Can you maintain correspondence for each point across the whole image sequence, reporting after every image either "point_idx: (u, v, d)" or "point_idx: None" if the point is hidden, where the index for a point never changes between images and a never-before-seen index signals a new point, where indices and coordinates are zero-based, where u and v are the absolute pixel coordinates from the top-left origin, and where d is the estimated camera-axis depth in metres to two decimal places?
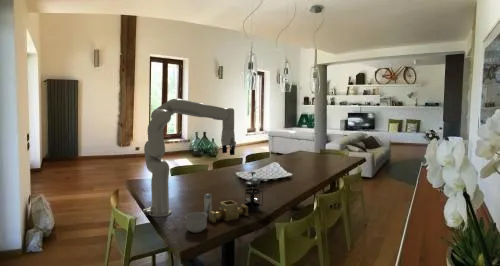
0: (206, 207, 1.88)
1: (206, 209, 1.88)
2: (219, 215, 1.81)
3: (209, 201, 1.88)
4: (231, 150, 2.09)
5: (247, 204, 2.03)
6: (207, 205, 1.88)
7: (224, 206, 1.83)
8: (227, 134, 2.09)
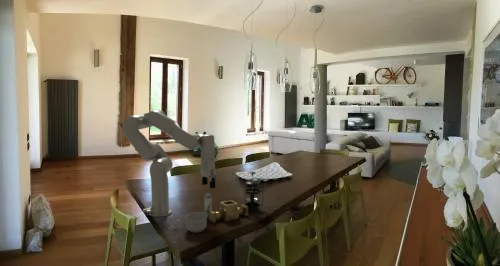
0: (206, 207, 1.88)
1: (206, 209, 1.88)
2: (219, 215, 1.81)
3: (209, 201, 1.88)
4: (211, 183, 1.84)
5: (247, 204, 2.03)
6: (207, 205, 1.88)
7: (224, 206, 1.83)
8: (206, 165, 1.84)
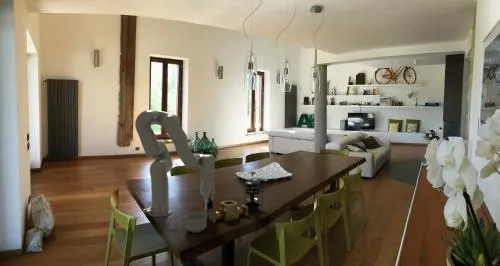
0: (206, 207, 1.88)
1: (206, 209, 1.88)
2: (219, 215, 1.81)
3: None
4: (208, 204, 1.87)
5: (247, 204, 2.03)
6: None
7: (224, 206, 1.83)
8: (206, 185, 1.85)
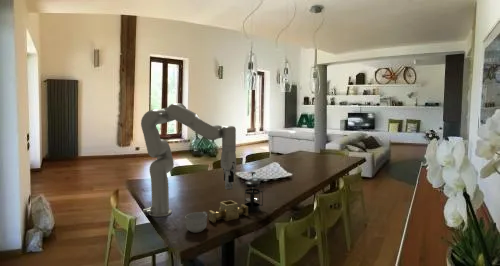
0: (227, 180, 1.83)
1: (227, 182, 1.83)
2: (219, 215, 1.81)
3: None
4: (230, 177, 1.82)
5: (247, 204, 2.03)
6: None
7: (224, 206, 1.83)
8: (227, 157, 1.79)
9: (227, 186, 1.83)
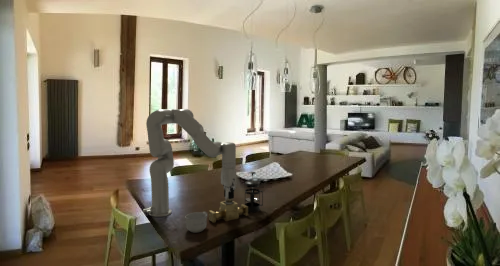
0: (227, 196, 1.84)
1: (227, 198, 1.84)
2: (219, 215, 1.81)
3: None
4: (230, 193, 1.82)
5: (247, 204, 2.03)
6: None
7: (224, 206, 1.83)
8: (227, 174, 1.80)
9: (227, 202, 1.84)
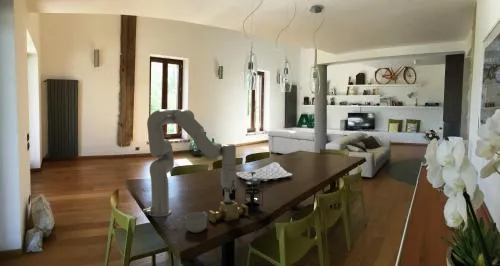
0: (227, 201, 1.84)
1: (227, 203, 1.84)
2: (219, 215, 1.81)
3: (229, 194, 1.84)
4: (231, 194, 1.81)
5: (247, 204, 2.03)
6: (228, 198, 1.84)
7: (224, 206, 1.83)
8: (227, 175, 1.80)
9: None
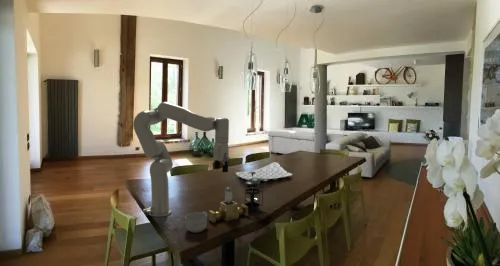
0: (227, 200, 1.84)
1: (227, 202, 1.84)
2: (219, 215, 1.81)
3: (230, 194, 1.84)
4: (224, 166, 1.82)
5: (247, 204, 2.03)
6: (228, 198, 1.84)
7: (224, 206, 1.83)
8: (220, 148, 1.82)
9: None
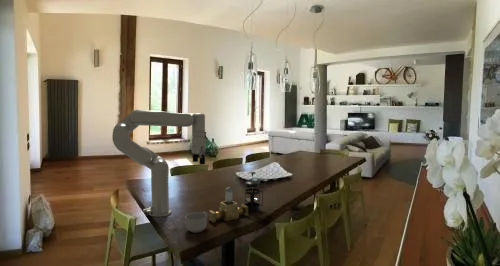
0: (227, 200, 1.84)
1: (227, 202, 1.84)
2: (219, 215, 1.81)
3: (230, 194, 1.84)
4: (201, 159, 1.93)
5: (247, 204, 2.03)
6: (228, 198, 1.84)
7: (224, 206, 1.83)
8: (197, 142, 1.92)
9: None
